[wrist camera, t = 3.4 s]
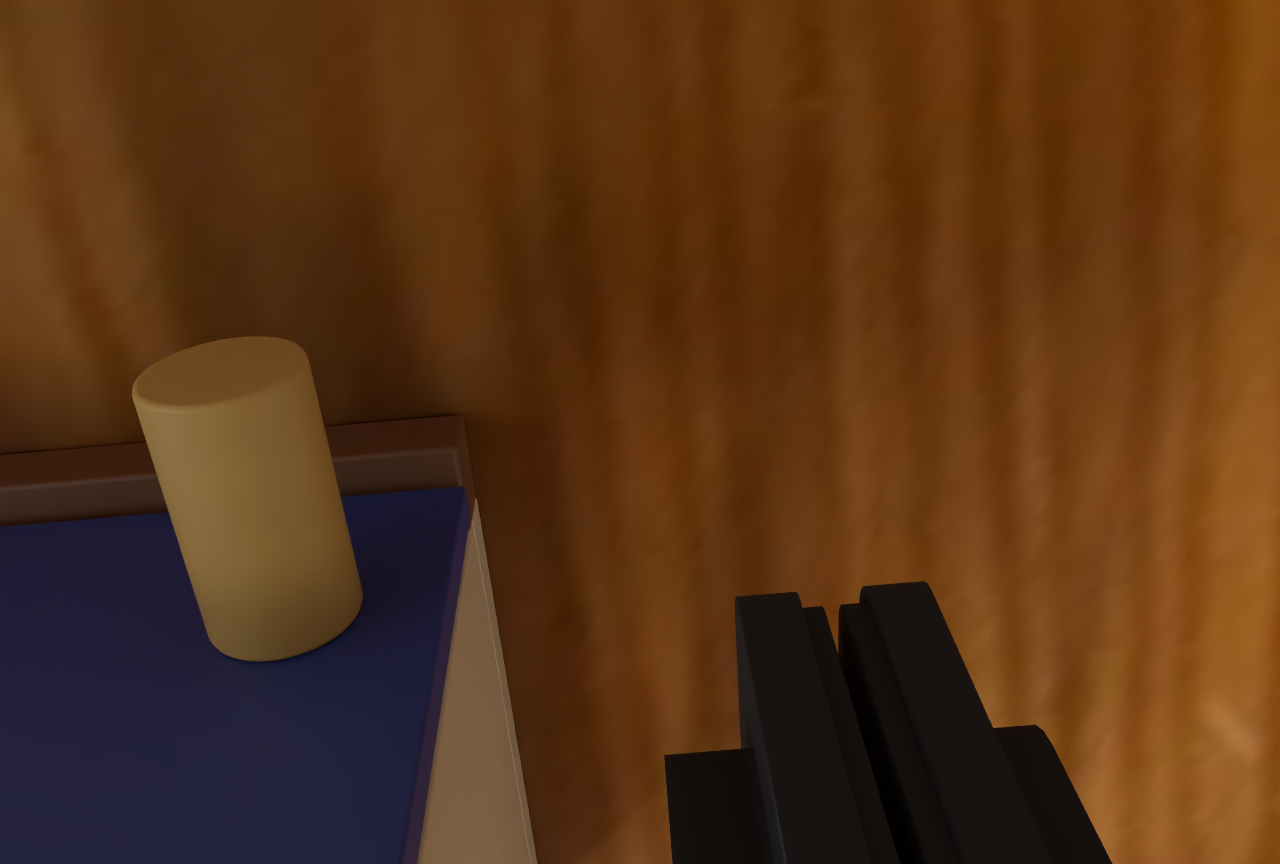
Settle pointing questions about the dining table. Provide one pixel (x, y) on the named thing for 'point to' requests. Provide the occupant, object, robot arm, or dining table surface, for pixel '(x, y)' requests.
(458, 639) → the box with blue drawer
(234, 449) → the sliding door
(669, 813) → the robot arm
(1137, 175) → the dining table surface
